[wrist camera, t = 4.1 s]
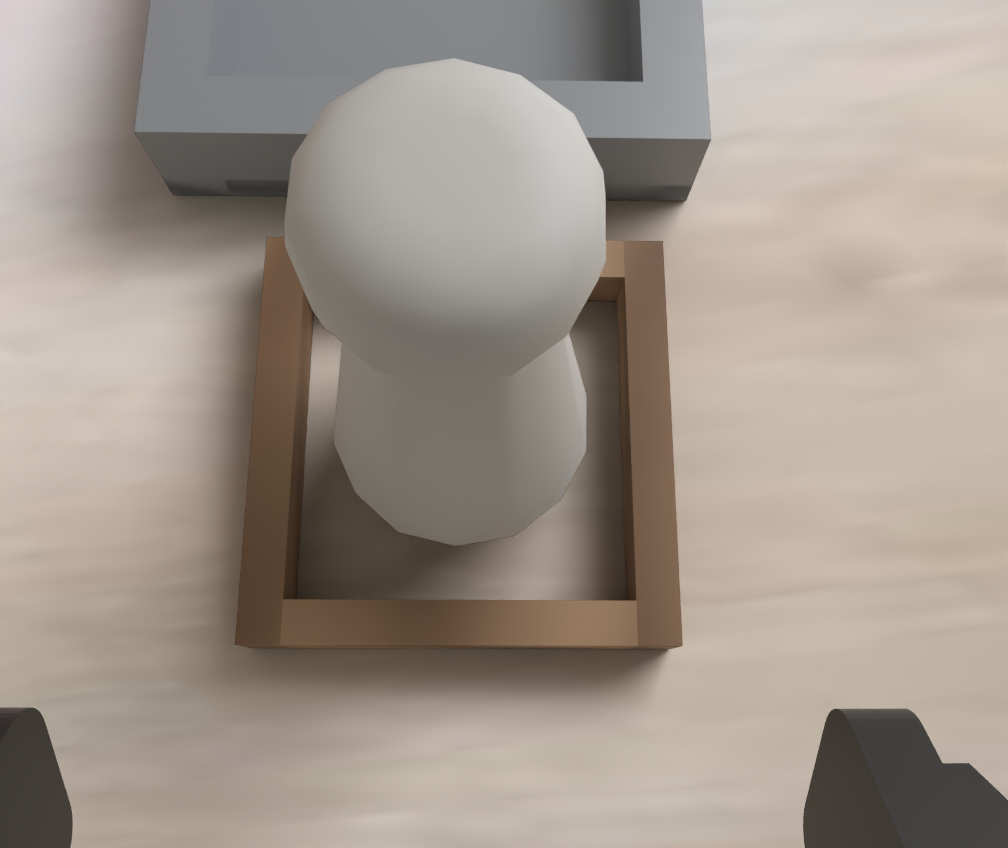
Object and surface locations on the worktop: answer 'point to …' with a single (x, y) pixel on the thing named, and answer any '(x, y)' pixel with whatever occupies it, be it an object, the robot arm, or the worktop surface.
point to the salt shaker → (451, 291)
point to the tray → (407, 41)
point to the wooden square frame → (462, 623)
